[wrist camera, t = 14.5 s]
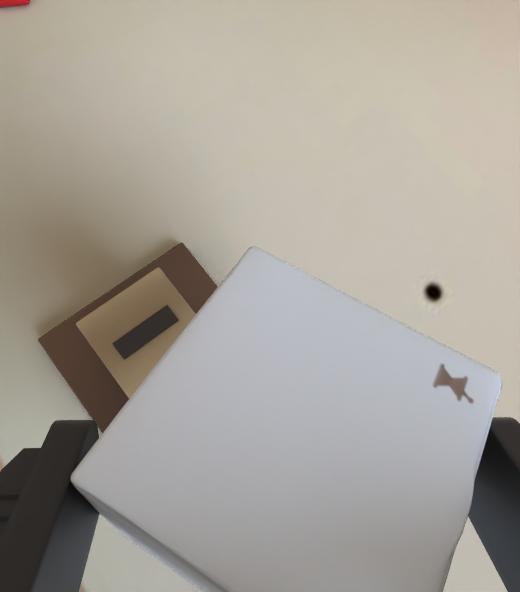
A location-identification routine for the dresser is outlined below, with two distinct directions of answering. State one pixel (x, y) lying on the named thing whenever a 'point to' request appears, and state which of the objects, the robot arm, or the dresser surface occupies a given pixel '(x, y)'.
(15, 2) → the toy figure
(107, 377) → the brown board with block
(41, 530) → the robot arm
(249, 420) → the product box
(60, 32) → the dresser surface
